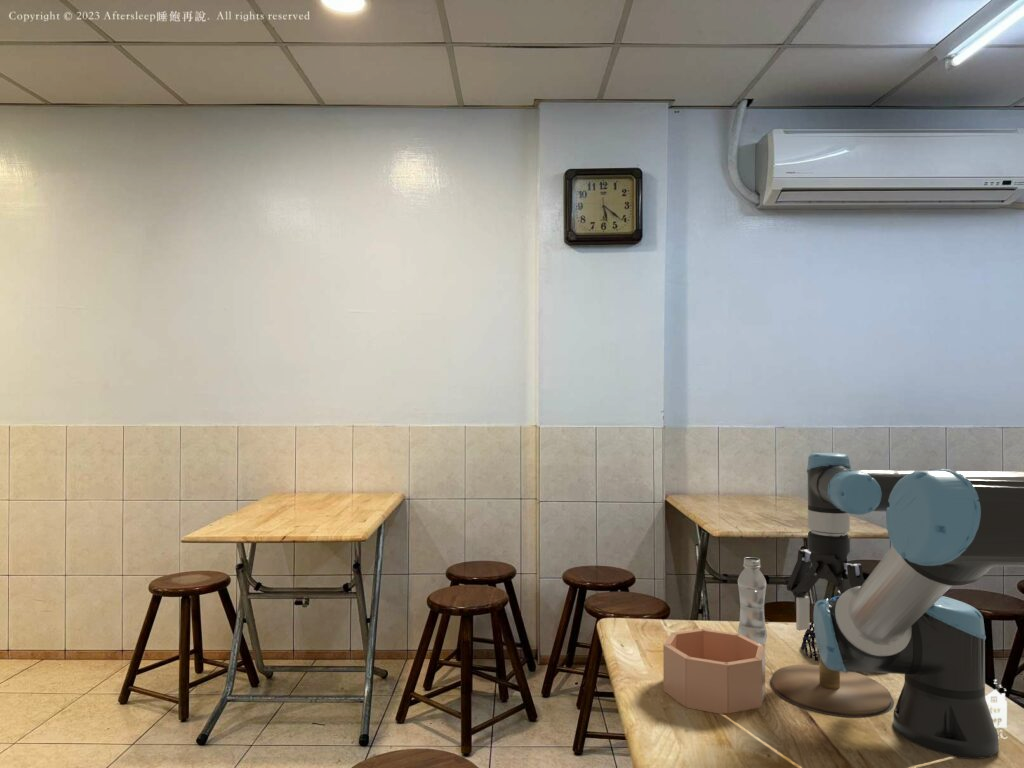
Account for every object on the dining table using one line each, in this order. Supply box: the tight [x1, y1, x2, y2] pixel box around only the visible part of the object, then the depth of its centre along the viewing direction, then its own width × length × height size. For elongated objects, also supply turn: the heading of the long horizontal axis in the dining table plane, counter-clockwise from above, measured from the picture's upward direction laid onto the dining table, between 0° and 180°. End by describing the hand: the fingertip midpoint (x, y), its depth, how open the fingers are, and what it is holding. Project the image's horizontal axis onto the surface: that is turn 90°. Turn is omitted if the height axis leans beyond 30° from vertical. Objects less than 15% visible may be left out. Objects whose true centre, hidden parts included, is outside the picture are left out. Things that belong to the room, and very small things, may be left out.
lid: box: [771, 653, 892, 716], centre depth 134 cm, size 21×21×11 cm
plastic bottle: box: [737, 556, 768, 646], centre depth 159 cm, size 6×7×20 cm
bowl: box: [662, 628, 766, 716], centre depth 134 cm, size 18×18×9 cm
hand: (828, 640), depth 134 cm, fingers open, 13 cm apart
